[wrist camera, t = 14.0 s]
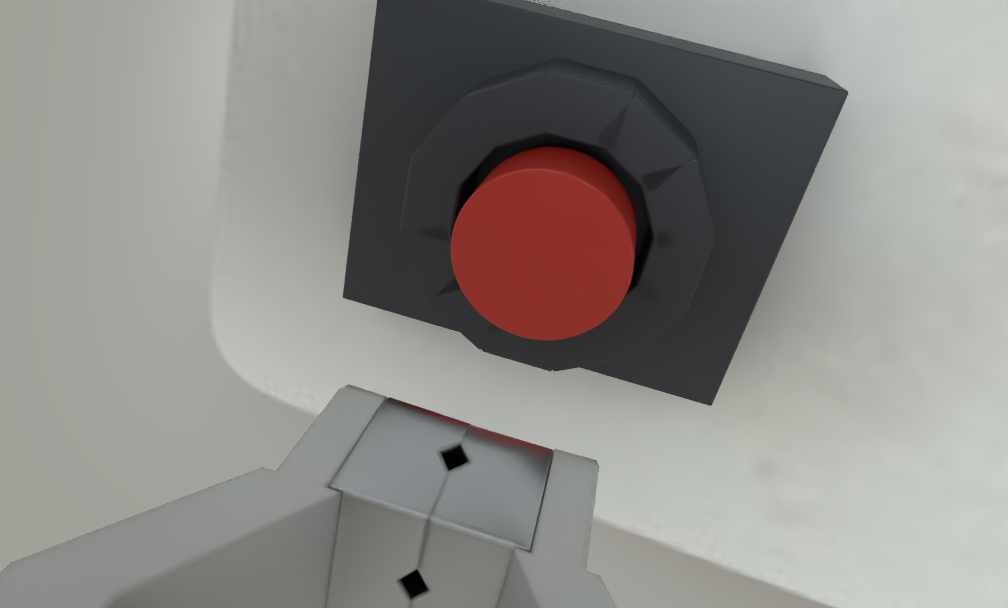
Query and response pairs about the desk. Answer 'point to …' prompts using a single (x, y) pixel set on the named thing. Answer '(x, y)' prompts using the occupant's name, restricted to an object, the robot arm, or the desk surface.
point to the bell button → (546, 244)
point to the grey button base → (604, 136)
